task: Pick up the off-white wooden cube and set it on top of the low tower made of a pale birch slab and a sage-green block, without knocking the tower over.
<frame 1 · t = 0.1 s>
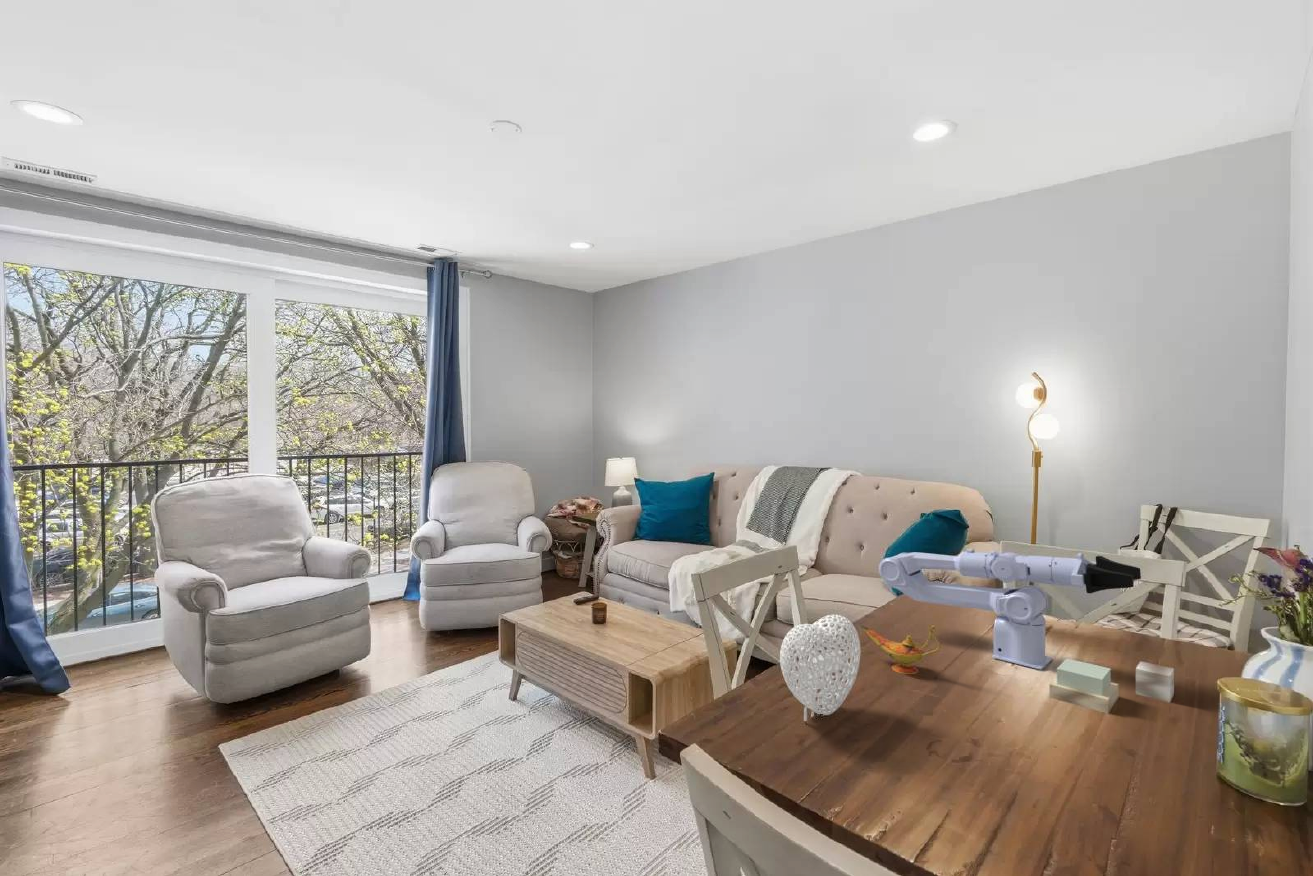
hand: (1136, 577, 117), 22 cm above the table, tool horizontal, fingers open, 7 cm apart
decorative heart: (821, 715, 108), on the table
ivory cube: (1154, 694, 114), on the table
magic lamp: (897, 668, 128), on the table
birch slab: (1083, 700, 113), on the table, touching sage block
sage block: (1083, 684, 113), point 2 cm above the table, touching birch slab
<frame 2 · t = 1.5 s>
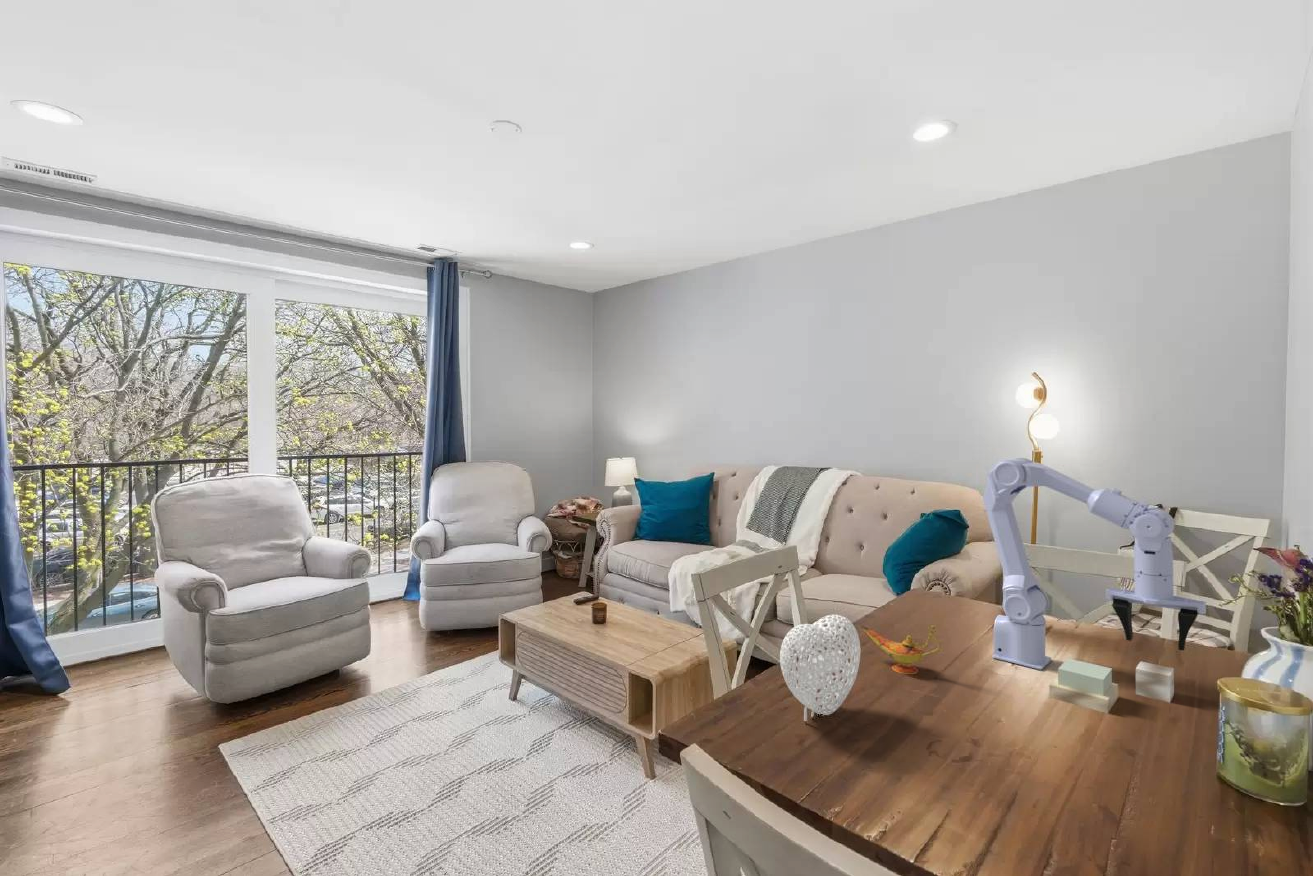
hand: (1154, 644, 114), 10 cm above the table, tool pointing down, fingers open, 7 cm apart
nothing on the table moved.
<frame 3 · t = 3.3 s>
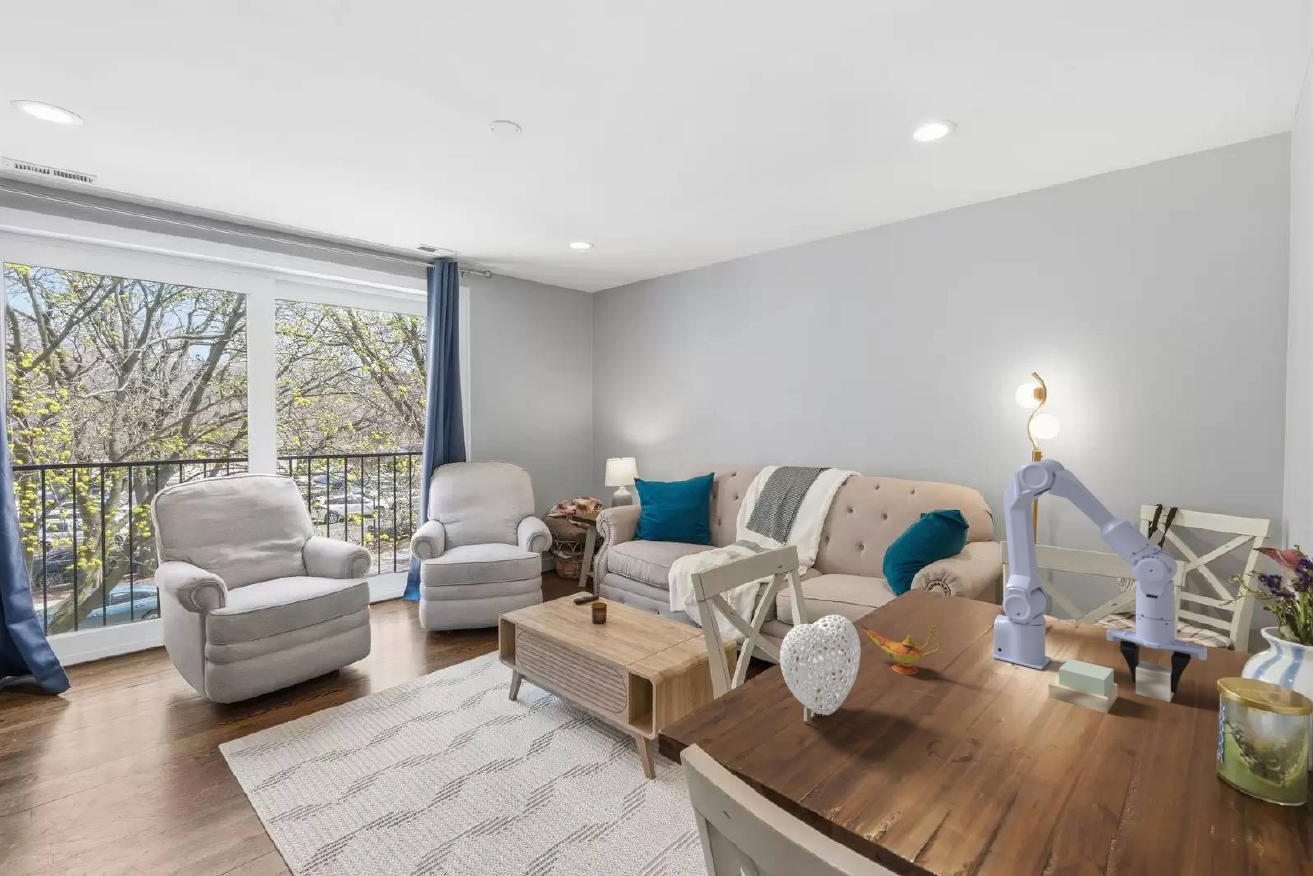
hand: (1154, 686, 114), 1 cm above the table, tool pointing down, fingers closed on ivory cube, 5 cm apart
ivory cube: (1154, 694, 114), on the table, touching gripper
birch slab: (1082, 699, 113), on the table
sage block: (1086, 684, 113), point 2 cm above the table
everything else where it was.
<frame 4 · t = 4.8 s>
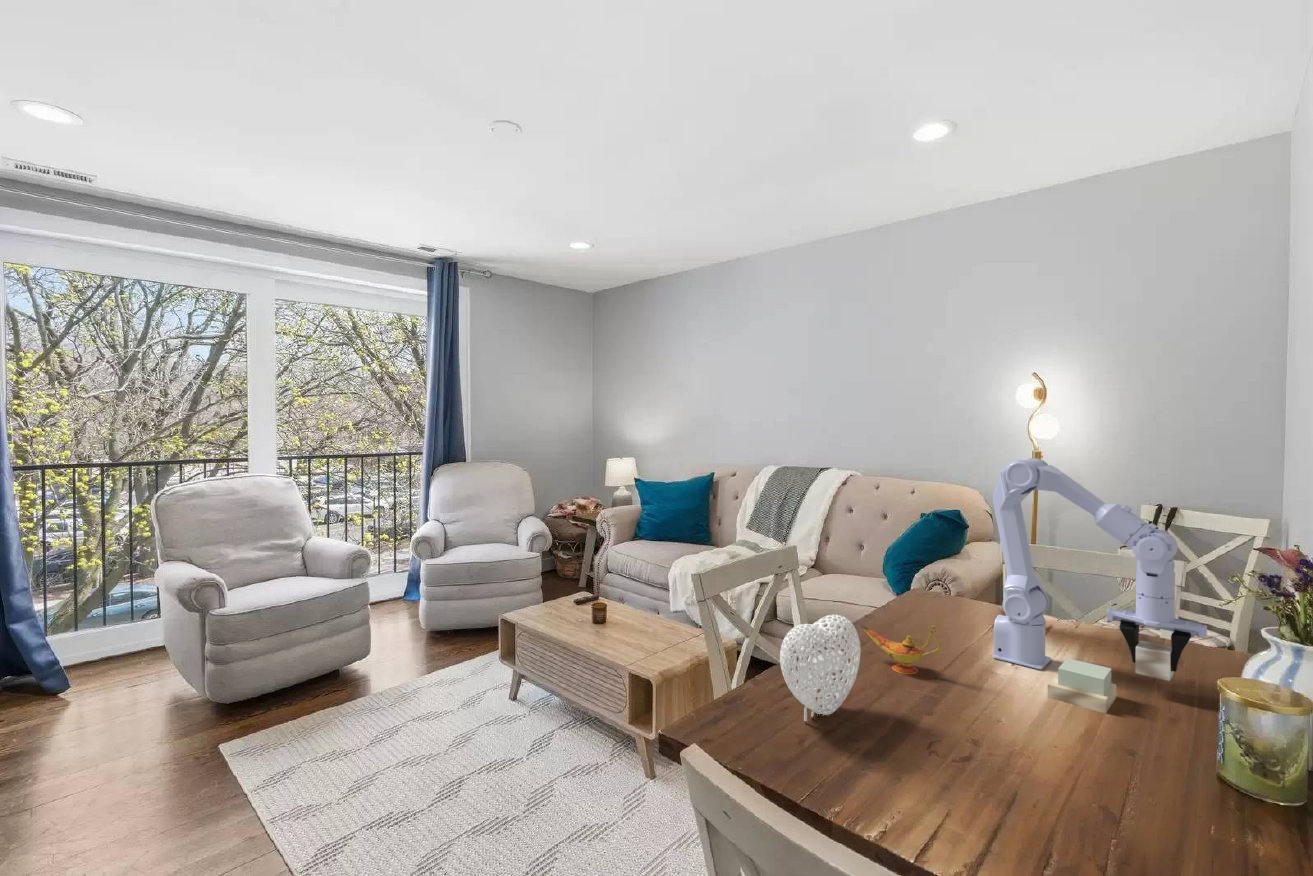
hand: (1154, 665, 114), 5 cm above the table, tool pointing down, fingers closed on ivory cube, 5 cm apart
ivory cube: (1154, 673, 114), point 4 cm above the table, touching gripper
birch slab: (1081, 700, 113), on the table, touching sage block
sage block: (1084, 684, 113), point 2 cm above the table, touching birch slab
everything else where it was.
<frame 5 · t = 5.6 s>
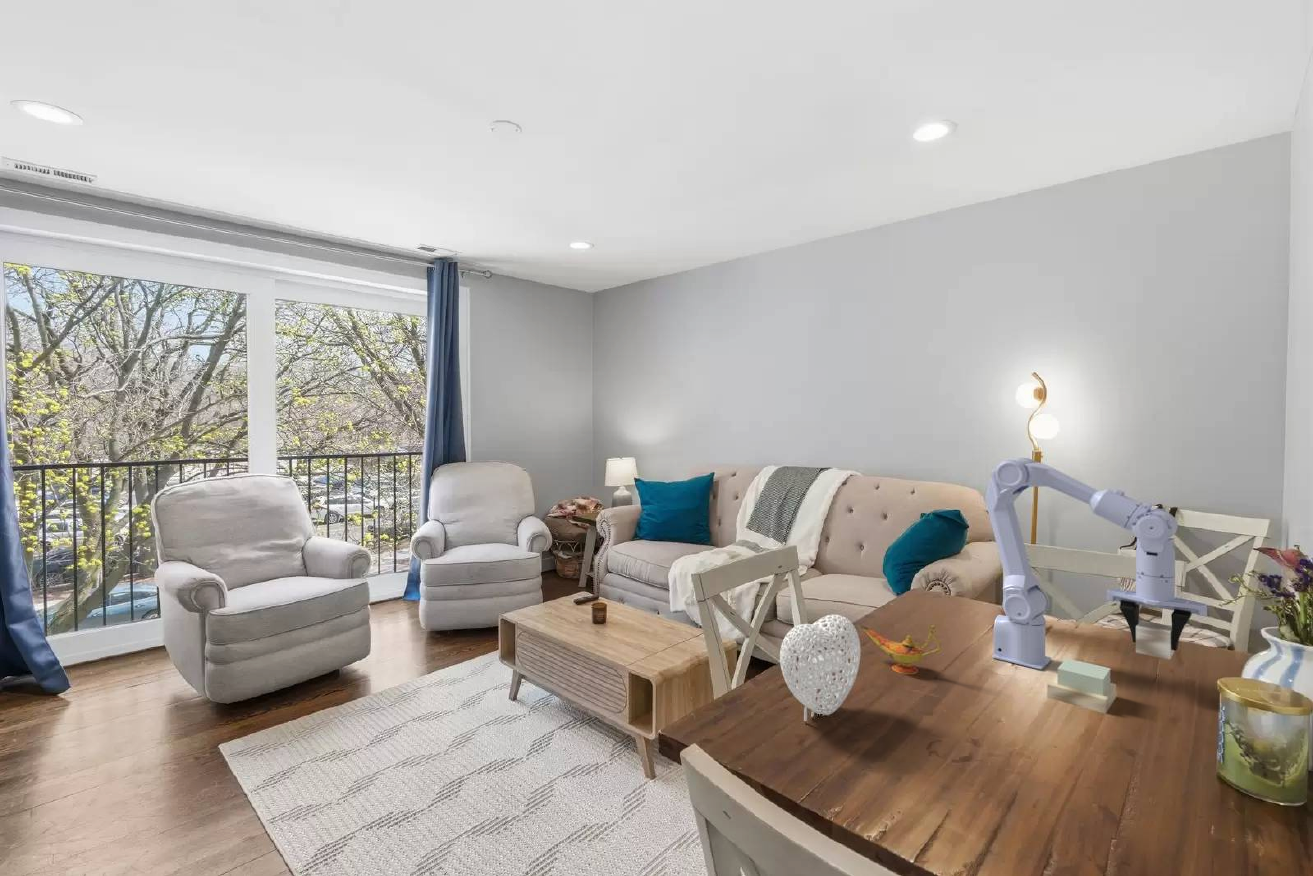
hand: (1154, 645, 114), 9 cm above the table, tool pointing down, fingers closed on ivory cube, 5 cm apart
ivory cube: (1154, 652, 114), point 8 cm above the table, touching gripper
everything else where it was.
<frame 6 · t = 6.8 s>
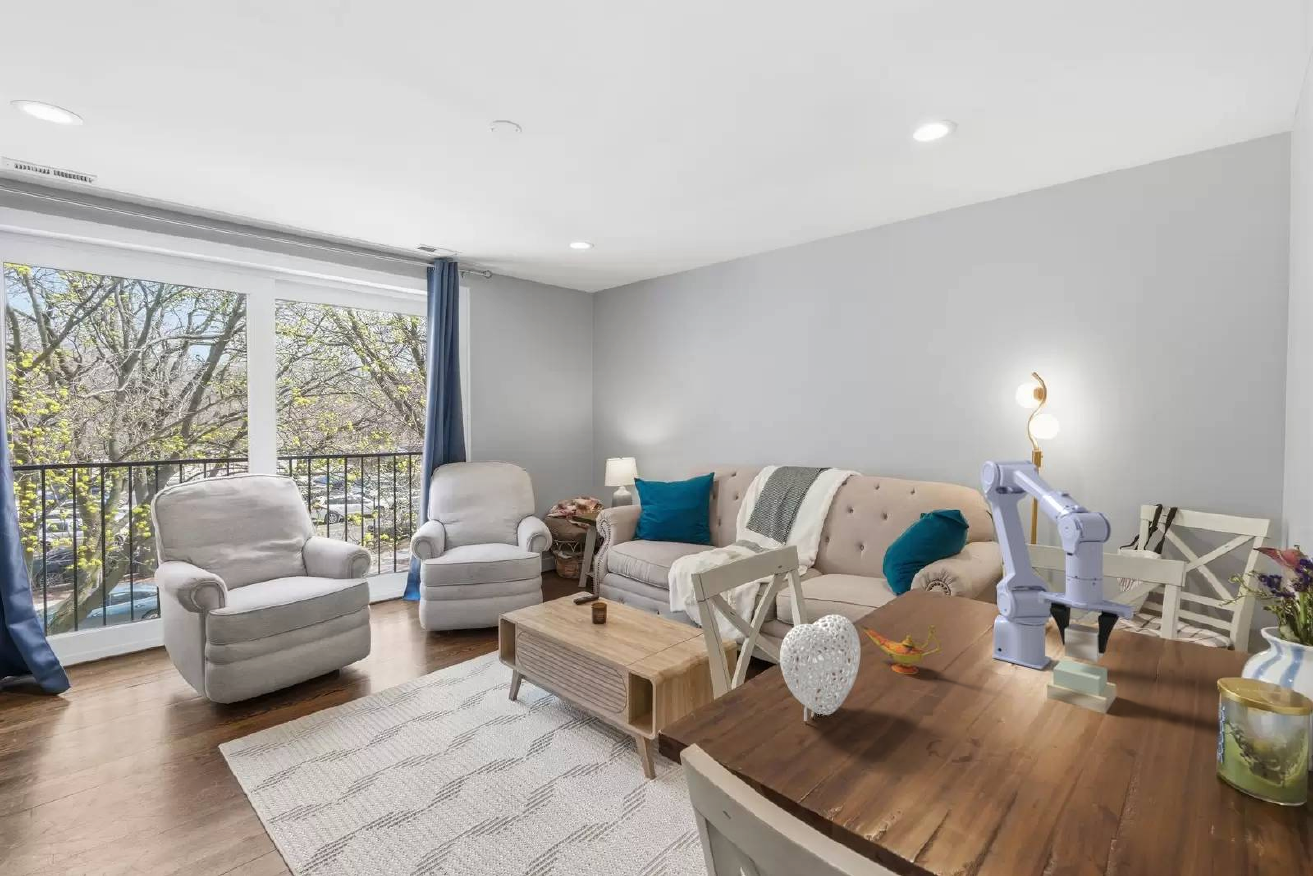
hand: (1083, 648, 113), 9 cm above the table, tool pointing down, fingers closed on ivory cube, 5 cm apart
ivory cube: (1083, 655, 113), point 8 cm above the table, touching gripper
birch slab: (1081, 700, 113), on the table
sage block: (1080, 684, 113), point 2 cm above the table
everything else where it was.
when the fingers open (8 cm above the table, at t = 8.0 s): ivory cube drops 1 cm, resting on sage block.
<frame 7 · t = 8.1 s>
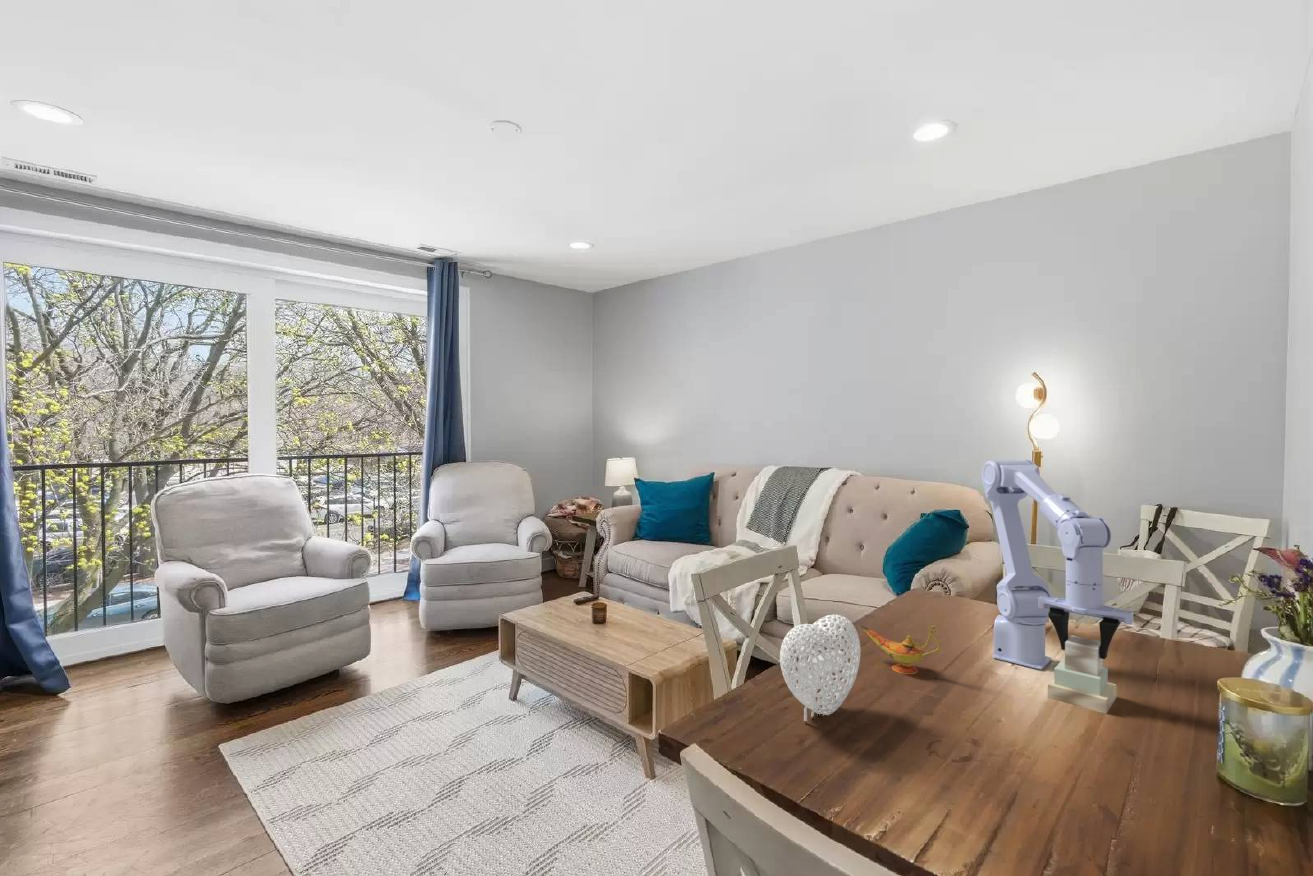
hand: (1083, 653, 113), 8 cm above the table, tool pointing down, fingers open, 5 cm apart
ivory cube: (1083, 668, 113), point 6 cm above the table, touching sage block
birch slab: (1082, 700, 113), on the table, touching sage block
sage block: (1080, 684, 113), point 2 cm above the table, touching birch slab, ivory cube
everything else where it was.
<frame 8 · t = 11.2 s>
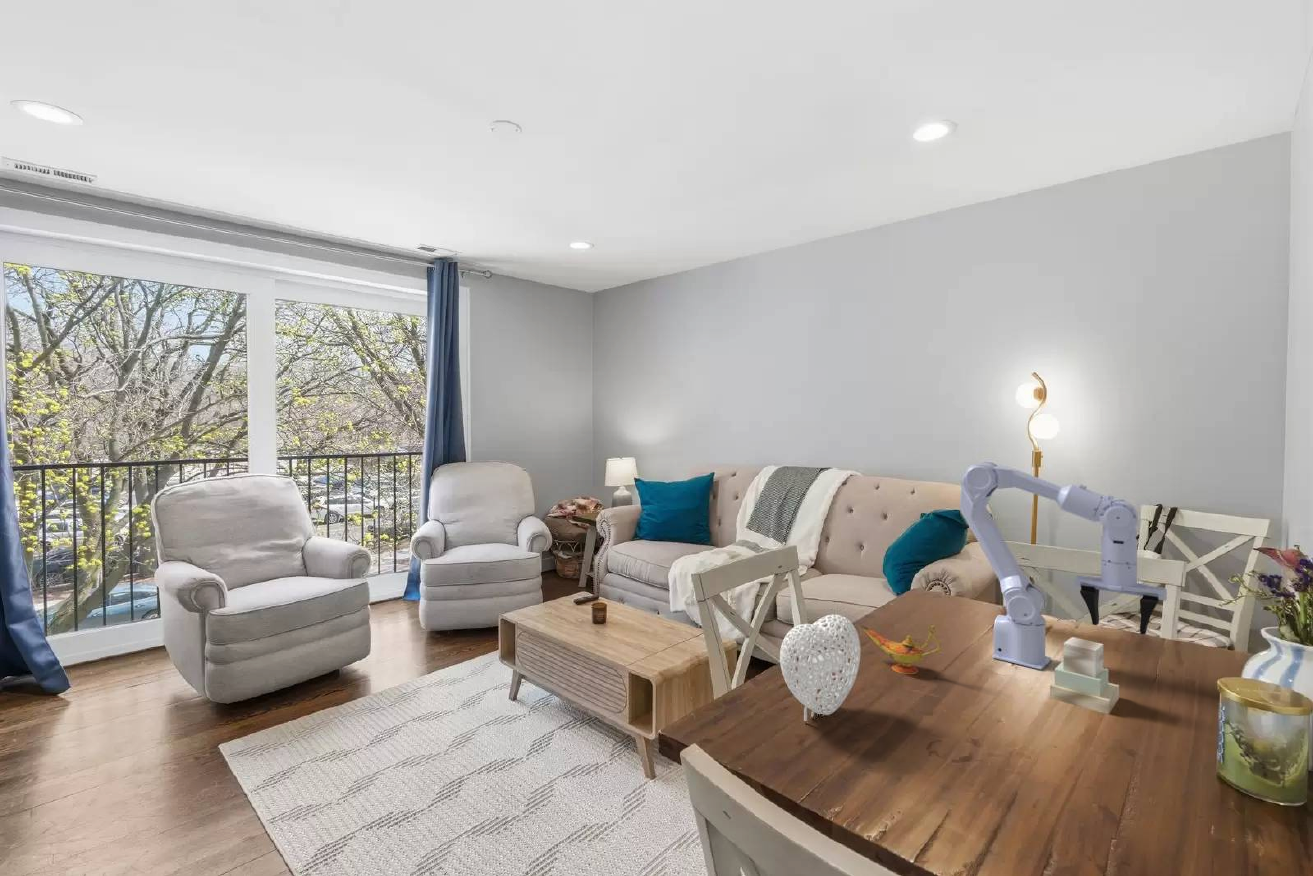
hand: (1118, 628, 120), 10 cm above the table, tool pointing down, fingers open, 7 cm apart
ivory cube: (1083, 670, 113), point 5 cm above the table
sage block: (1081, 685, 113), point 2 cm above the table, touching birch slab
everything else where it was.
at the end: ivory cube 0.5 cm off-centre on the birch slab, point 6.0 cm above the birch slab's base; sage block 0.5 cm off-centre on the birch slab, point 3.0 cm above the birch slab's base; ivory cube tilted 1° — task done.
